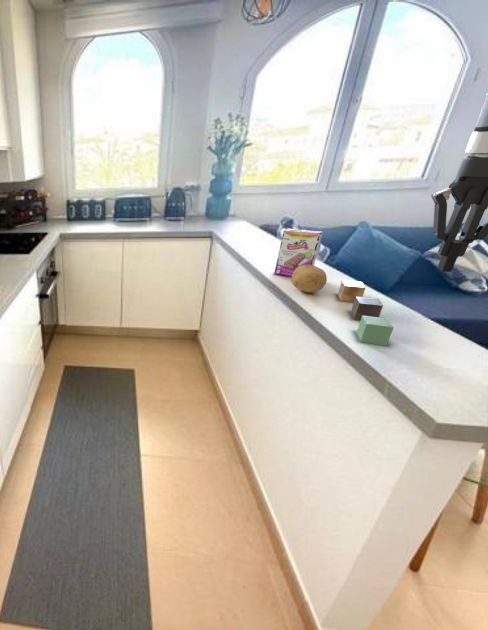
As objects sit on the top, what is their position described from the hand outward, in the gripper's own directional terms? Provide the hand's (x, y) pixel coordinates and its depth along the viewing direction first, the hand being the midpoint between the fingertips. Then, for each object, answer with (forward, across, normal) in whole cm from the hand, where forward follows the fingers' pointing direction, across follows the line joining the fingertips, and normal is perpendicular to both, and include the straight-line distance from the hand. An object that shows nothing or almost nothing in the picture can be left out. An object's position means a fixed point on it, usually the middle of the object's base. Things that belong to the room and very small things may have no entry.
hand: (444, 269), depth 77 cm
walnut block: (+18, -9, +9) cm, 21 cm away
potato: (+18, -21, +26) cm, 38 cm away
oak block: (+18, -10, +22) cm, 30 cm away
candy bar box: (+18, -24, +40) cm, 50 cm away
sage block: (+18, -10, -4) cm, 20 cm away
